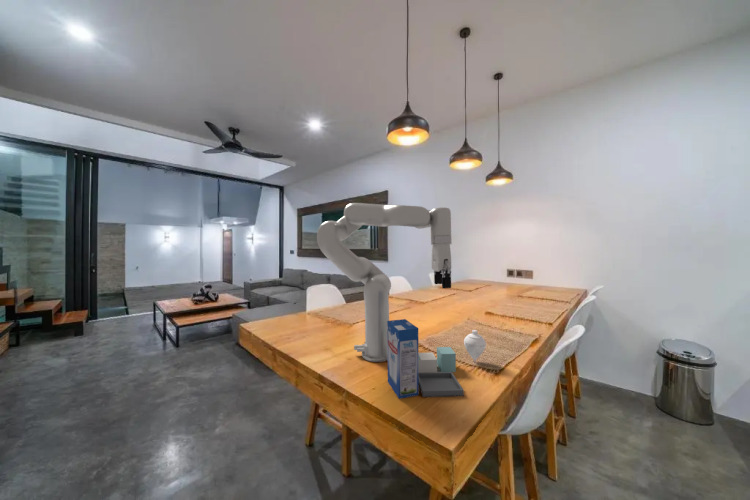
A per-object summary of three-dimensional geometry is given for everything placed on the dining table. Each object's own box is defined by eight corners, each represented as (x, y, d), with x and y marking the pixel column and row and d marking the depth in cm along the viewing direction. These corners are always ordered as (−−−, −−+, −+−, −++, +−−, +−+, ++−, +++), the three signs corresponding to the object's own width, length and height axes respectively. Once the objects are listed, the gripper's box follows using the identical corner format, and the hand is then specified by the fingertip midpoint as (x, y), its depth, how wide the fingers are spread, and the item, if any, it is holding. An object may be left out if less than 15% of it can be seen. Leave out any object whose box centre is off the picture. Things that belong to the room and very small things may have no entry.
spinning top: (461, 357, 105) (461, 327, 105) (481, 357, 105) (481, 327, 104) (467, 366, 97) (467, 333, 97) (489, 367, 97) (489, 334, 97)
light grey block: (414, 373, 93) (414, 359, 93) (411, 365, 99) (411, 352, 99) (440, 372, 93) (440, 359, 93) (436, 364, 99) (436, 352, 99)
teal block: (441, 372, 94) (441, 354, 93) (436, 364, 100) (436, 347, 99) (455, 372, 94) (455, 353, 93) (450, 364, 100) (450, 346, 99)
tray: (422, 397, 79) (422, 391, 79) (415, 378, 90) (415, 372, 90) (463, 396, 79) (463, 390, 79) (451, 377, 90) (451, 371, 90)
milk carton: (418, 395, 80) (418, 328, 79) (399, 399, 78) (398, 330, 77) (405, 378, 89) (405, 318, 89) (387, 381, 88) (387, 320, 87)
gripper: (425, 241, 111) (426, 283, 111) (438, 241, 93) (439, 290, 94) (443, 240, 111) (444, 282, 111) (459, 240, 94) (460, 289, 94)
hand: (442, 285), depth 103 cm, fingers open, 9 cm apart
